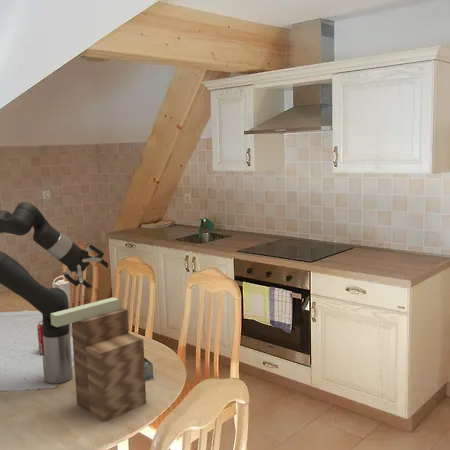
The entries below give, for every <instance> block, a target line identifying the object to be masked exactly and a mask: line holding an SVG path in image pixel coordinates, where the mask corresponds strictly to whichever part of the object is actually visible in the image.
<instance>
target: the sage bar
mask: <svg viewBox="0 0 450 450" xmlns="http://www.w3.org/2000/svg"><path fill="white" fill-rule="evenodd" d="M120 307H121V306H120V299H119V298H117V297H114V296H113V297H108V298H104V299H101V300H97V301H93V302H89V303H86V304H82V305H79V306H75V307H69V309H66V310H62V311H58V312H55V313H51V314H50V316H51V325H53V326H55V327H60V326H63V325H67V324H70V323H71V324H72V323H74V322H77V321H81V320H84V319H88V318H91V317H95V316H98V315H102V314H106V313H109V312H113V311H116V310H120Z"/></svg>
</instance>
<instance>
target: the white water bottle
mask: <svg viewBox="0 0 450 450" xmlns="http://www.w3.org/2000/svg"><path fill="white" fill-rule="evenodd" d="M62 277H63V279H61V280H60V279H59V278H62ZM58 279H59V280H58ZM65 279H66V278H65V277H64V276H63V275H60V276H56V278H54V280H53V282H52V288H60V289H62V290H63V291H64V292H65V293H66V294H67V297H68V305H69V308H71V307H70V306H71V305H70V304H71V287H70V284H71V282H70V281H69V280H67V281H66V280H65ZM56 280H57V281H56ZM55 281H56V282H55ZM69 330H70V338H71V336H72V323H70V324H69ZM71 339H72V338H71Z"/></svg>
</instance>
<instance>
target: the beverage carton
mask: <svg viewBox="0 0 450 450" xmlns="http://www.w3.org/2000/svg"><path fill="white" fill-rule="evenodd" d="M144 365H145V381H148V380H152V379H154V365H153V363H152V362H151V361H150V360H148V359H147V358H146V357H144Z"/></svg>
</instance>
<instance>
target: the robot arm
mask: <svg viewBox="0 0 450 450" xmlns="http://www.w3.org/2000/svg"><path fill="white" fill-rule="evenodd" d="M32 228H33V234H32V240H33V241H34V242H35V243H36V244H37V245H38V246H40V247H42V248H43V249H44V250H45V251H46V252H47V253H48V254H50V255H51V256H52V257H53V258H54V259H56V260H58V261H59V262H60V263H61V264H63V265H64V266H65V267H67V270H66V271H63V273H62V276H64V277H65V279H66V280H67V281H69V282H70V284H73V285H74V286H75V287H78V286H79V285H80V284H82V285H83V286H85V288H92V287H93V285H92V284H91V283H90V282H89V281H86V280H85V279H84V278H83V272H85V270H86V269H87V267H89V265H91V264H90V263H95V262H99V263H100V264H101V265H103V266H104V267H105V268H107V269H108V268H109V263H108V262H107V261H106V260H104V259H103V257H104V255H105V253H104V252H103V251H101V249H98V248H97V247H96V246H95V245H93V244H91V243H90V242H89V243H87V246H86V248H85V249H82V247H80V246H79V245H77V244H76V243H75V242H74V241H72V240H71V238H68V237H67V236H66V235H64V234H62V233H61V232H60V231H58V230H57V229H56V228H54V227H53V226H52V225H51V224H50V223H49V221H48V220H47V219H46V218H45V216H44V214H43V213H42V212H41V211H40V210H39V209H38V207H37V206H36V205H34V204H32V203H31V202H26V201H22V202H20V203H18V204H17V206H16V207H15V208H14V210H13V212H12V213H11V212H10V211H8V210H0V234H3V233H6V234H11V235H16V236H24V235H27V234H28V233H30V231H31V230H32ZM89 252H95V253H96V254H97V255H90V254H89ZM71 272H72V273H73V272H75V275H76V277H77V278H76V279H74V278H73V277H72V274H71ZM64 277H63V278H64ZM0 285H2V287H5V288H7V289H8V290H9V291H11V292H12V293H14V294H16V295H17V296H19V297H20V298H23V299H24V300H25V301H26V302H28V303H29V304H30V305H31V306H32V307H34V308H35V309H36V310H37V311H38V312H40V313H41V314H42V315H41V316H42V320H43V326H42V331H43V343H44V355H42V369H43V381H44V383H49V384H54V385H55V384H57V385H58V384H63V383H66V382H68V381H70V380H72V378H73V375H74V374H73V362H72V361H73V360H72V348H71V339H70V330H69V324H67V325H63V326H60V327H55V326H53V325H51V316H50V314H51V313H55V312H58V311H62V310H66V309H70V307H69V305H68V297H67V294H66V293H65V292H64V291H63V290H62V289H60V288H53V287H51V288H48V287H46V286H44V285H43V284H41V283H40V282H38V281H37V279H35V278H34V277H33V275H31V274H30V273H29V271H28V270H27V269H26V268H25V267H24V266H23V265H22V264H21V263H20V262H19V261H17V260H15V259H14V258H13V257H11V256H10V255H8V254H7V253H5V252H4V251H1V250H0Z"/></svg>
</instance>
